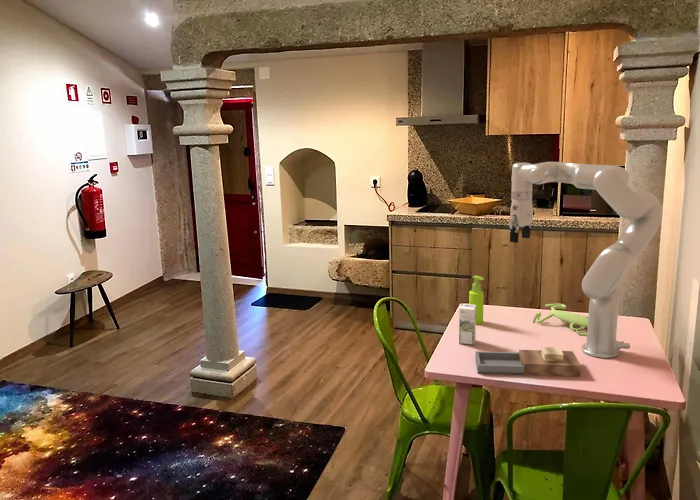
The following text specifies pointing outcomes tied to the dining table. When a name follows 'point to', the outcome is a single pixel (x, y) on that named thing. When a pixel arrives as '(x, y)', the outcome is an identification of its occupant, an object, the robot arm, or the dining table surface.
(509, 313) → the dining table surface
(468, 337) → the syrup box
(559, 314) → the figurine
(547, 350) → the tile
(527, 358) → the board
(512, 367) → the box
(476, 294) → the soap dispenser
